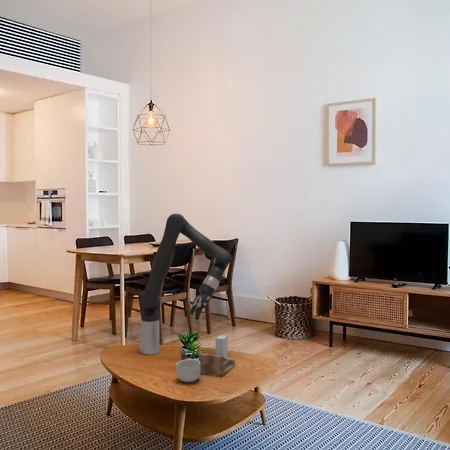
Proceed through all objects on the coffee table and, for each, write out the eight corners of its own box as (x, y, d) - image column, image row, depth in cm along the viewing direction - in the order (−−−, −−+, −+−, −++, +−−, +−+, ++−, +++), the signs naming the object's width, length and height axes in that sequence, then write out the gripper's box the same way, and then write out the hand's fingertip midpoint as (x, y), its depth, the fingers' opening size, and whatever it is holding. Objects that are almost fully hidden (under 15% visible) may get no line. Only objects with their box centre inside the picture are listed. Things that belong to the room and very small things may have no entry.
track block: (198, 373, 226) (198, 354, 225) (212, 363, 241) (212, 345, 240) (222, 376, 221) (222, 357, 221) (235, 366, 236) (235, 347, 236)
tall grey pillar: (215, 362, 242) (215, 338, 242) (220, 358, 248) (220, 335, 247) (223, 363, 241) (223, 339, 240) (227, 359, 246) (227, 336, 246)
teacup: (197, 385, 211) (197, 367, 211) (173, 383, 213) (173, 365, 212) (204, 374, 225) (204, 357, 224) (181, 373, 227) (181, 355, 226)
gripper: (198, 282, 254) (182, 310, 249) (209, 282, 242) (193, 311, 236) (209, 290, 257) (194, 317, 251) (220, 290, 244) (205, 318, 238)
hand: (193, 314), depth 244 cm, fingers open, 8 cm apart
